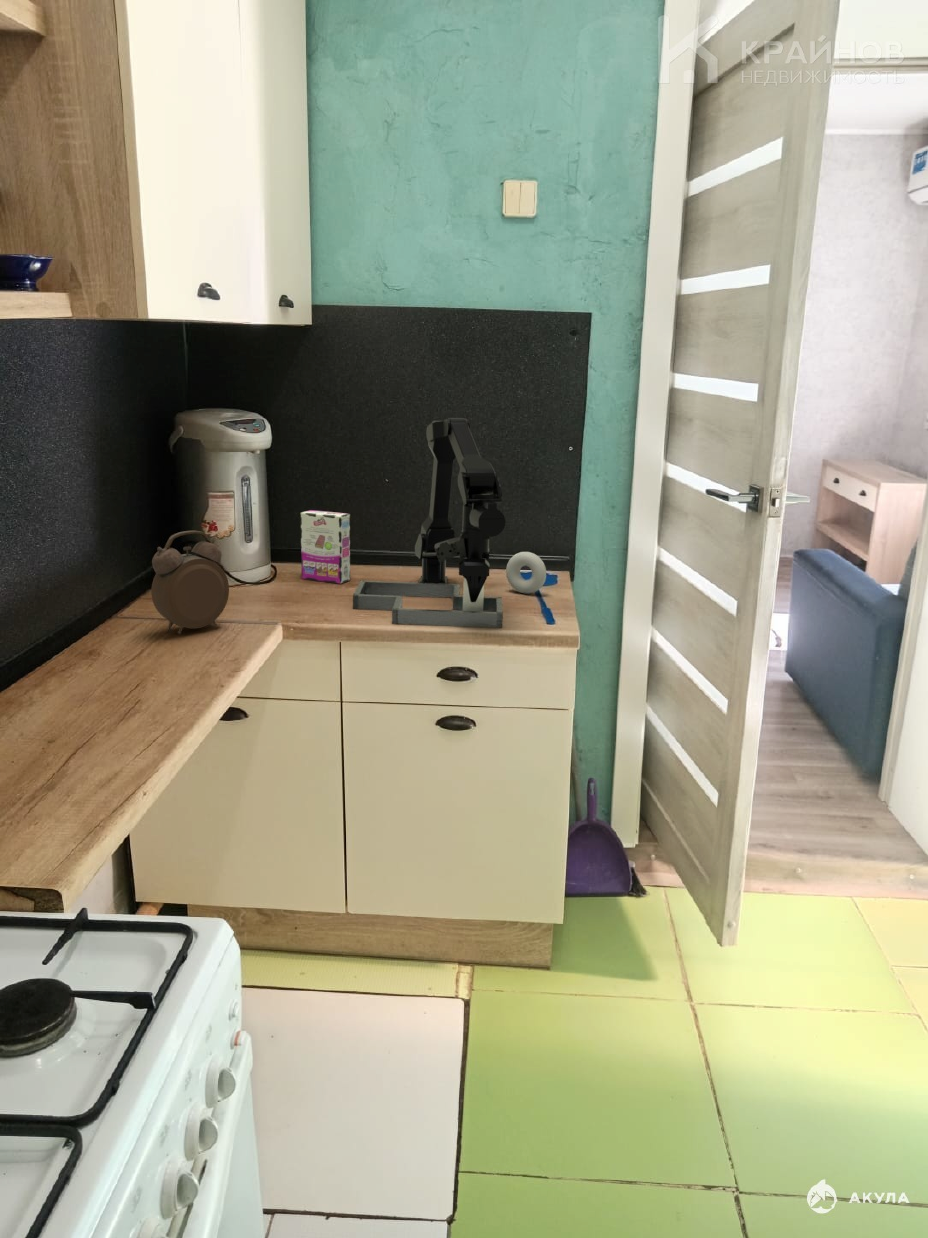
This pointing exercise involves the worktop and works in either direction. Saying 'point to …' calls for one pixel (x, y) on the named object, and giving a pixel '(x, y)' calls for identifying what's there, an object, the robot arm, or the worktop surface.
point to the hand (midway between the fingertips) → (473, 599)
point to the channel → (391, 596)
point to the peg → (467, 603)
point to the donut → (536, 568)
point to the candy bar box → (325, 546)
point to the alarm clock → (189, 583)
